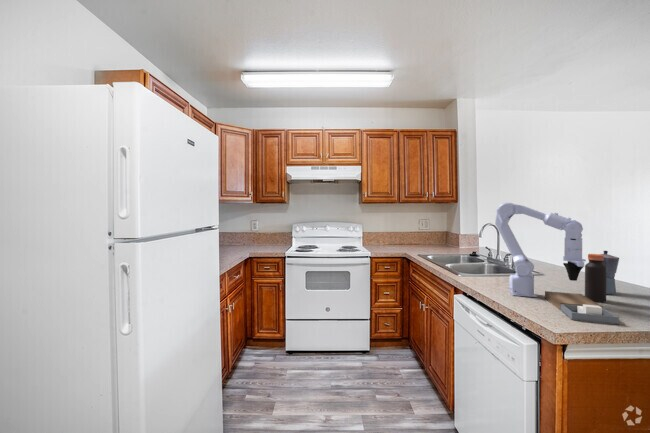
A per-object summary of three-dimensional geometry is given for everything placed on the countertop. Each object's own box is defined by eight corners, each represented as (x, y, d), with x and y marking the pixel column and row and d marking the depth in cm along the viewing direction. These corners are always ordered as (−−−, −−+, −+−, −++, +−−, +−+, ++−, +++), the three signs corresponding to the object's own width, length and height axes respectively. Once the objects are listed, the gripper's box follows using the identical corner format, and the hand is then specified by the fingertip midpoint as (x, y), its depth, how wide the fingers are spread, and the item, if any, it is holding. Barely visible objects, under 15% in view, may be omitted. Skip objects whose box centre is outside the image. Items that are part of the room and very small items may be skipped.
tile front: (582, 316, 104) (586, 318, 101) (582, 304, 104) (586, 306, 101) (598, 317, 102) (602, 320, 100) (598, 305, 102) (602, 307, 100)
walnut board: (560, 310, 111) (560, 302, 111) (544, 297, 127) (544, 291, 127) (602, 314, 106) (602, 306, 106) (581, 300, 122) (581, 294, 122)
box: (571, 319, 102) (571, 312, 102) (560, 310, 111) (560, 304, 111) (618, 324, 97) (618, 317, 97) (603, 314, 106) (603, 308, 106)
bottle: (610, 303, 119) (611, 256, 118) (591, 302, 120) (592, 255, 120) (598, 298, 125) (598, 253, 125) (580, 297, 127) (581, 253, 126)
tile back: (582, 316, 104) (582, 309, 104) (577, 312, 108) (577, 305, 108) (598, 317, 102) (598, 311, 102) (592, 313, 106) (592, 307, 106)
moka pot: (626, 293, 131) (627, 251, 131) (604, 297, 127) (605, 253, 126) (601, 288, 140) (602, 248, 140) (580, 291, 136) (580, 250, 135)
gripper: (594, 251, 112) (593, 285, 112) (577, 246, 126) (576, 277, 126) (571, 250, 115) (571, 283, 115) (557, 246, 128) (557, 275, 129)
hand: (572, 280), depth 121 cm, fingers closed
